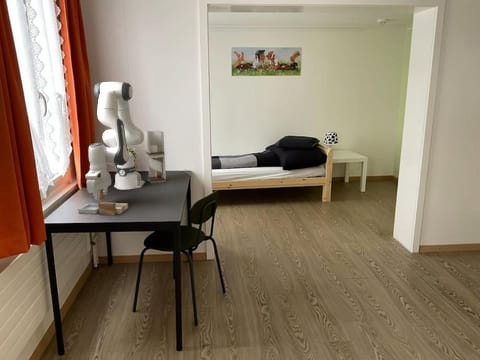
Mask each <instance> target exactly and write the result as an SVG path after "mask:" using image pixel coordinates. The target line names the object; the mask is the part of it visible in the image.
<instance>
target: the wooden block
mask: <svg viewBox="0 0 480 360" xmlns="http://www.w3.org/2000/svg"><path fill="white" fill-rule="evenodd" d="M116 203H117V202H111V201H110V202H109V201H104V202H100V203H99V202H98V203H97V204H98V206H99V213H98V214H99V215H101V216H102V215H103V216H115V215H117V214H116Z"/></svg>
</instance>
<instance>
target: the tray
mask: <svg viewBox="0 0 480 360" xmlns="http://www.w3.org/2000/svg"><path fill="white" fill-rule="evenodd" d="M98 204H99V203H89V202H88V203H87V204H85V205H83V206H81V207H79V208H78V210H77V211H78V214H81V215H82V214H86V215H97V214H99V210H98V208H99V206H98Z"/></svg>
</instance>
